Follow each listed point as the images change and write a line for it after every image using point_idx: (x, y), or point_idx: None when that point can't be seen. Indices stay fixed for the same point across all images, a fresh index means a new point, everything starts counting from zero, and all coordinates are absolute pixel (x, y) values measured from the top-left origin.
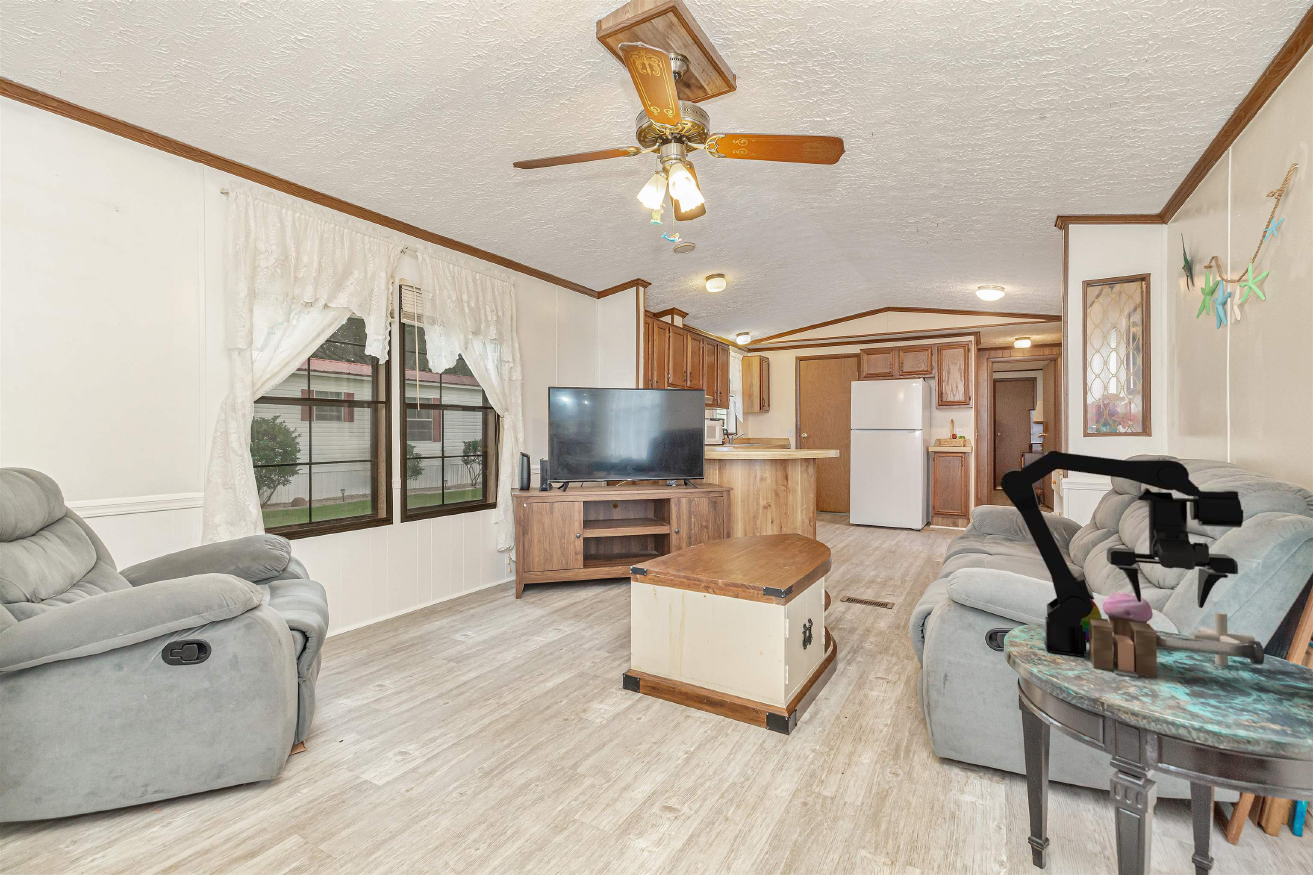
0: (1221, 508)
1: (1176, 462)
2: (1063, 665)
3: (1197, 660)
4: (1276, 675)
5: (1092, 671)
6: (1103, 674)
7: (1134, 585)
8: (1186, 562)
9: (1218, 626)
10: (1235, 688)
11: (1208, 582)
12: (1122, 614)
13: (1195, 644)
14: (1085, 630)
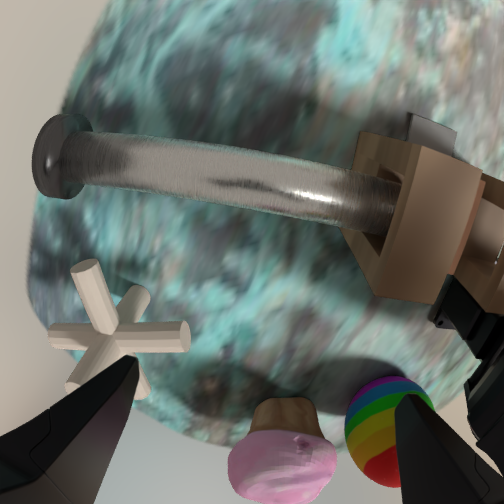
0: None
1: None
2: None
3: (183, 310)
4: (60, 247)
5: (490, 148)
6: (477, 129)
7: (470, 454)
8: None
9: (103, 357)
10: (177, 100)
11: (18, 462)
12: (314, 442)
13: (245, 151)
14: (401, 387)
